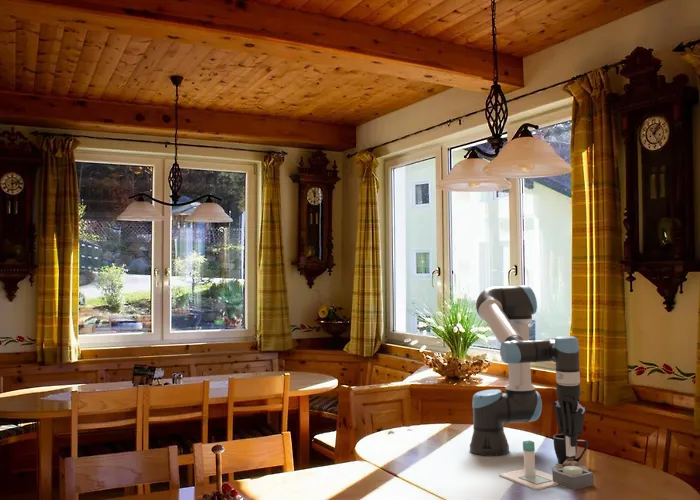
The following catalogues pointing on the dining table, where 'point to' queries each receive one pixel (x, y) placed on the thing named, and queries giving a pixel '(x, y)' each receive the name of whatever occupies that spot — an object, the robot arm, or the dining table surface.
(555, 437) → the mug
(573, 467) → the button
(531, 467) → the marker
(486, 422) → the robot arm
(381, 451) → the dining table surface
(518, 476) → the sheet
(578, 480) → the button housing
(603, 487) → the dining table surface
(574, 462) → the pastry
